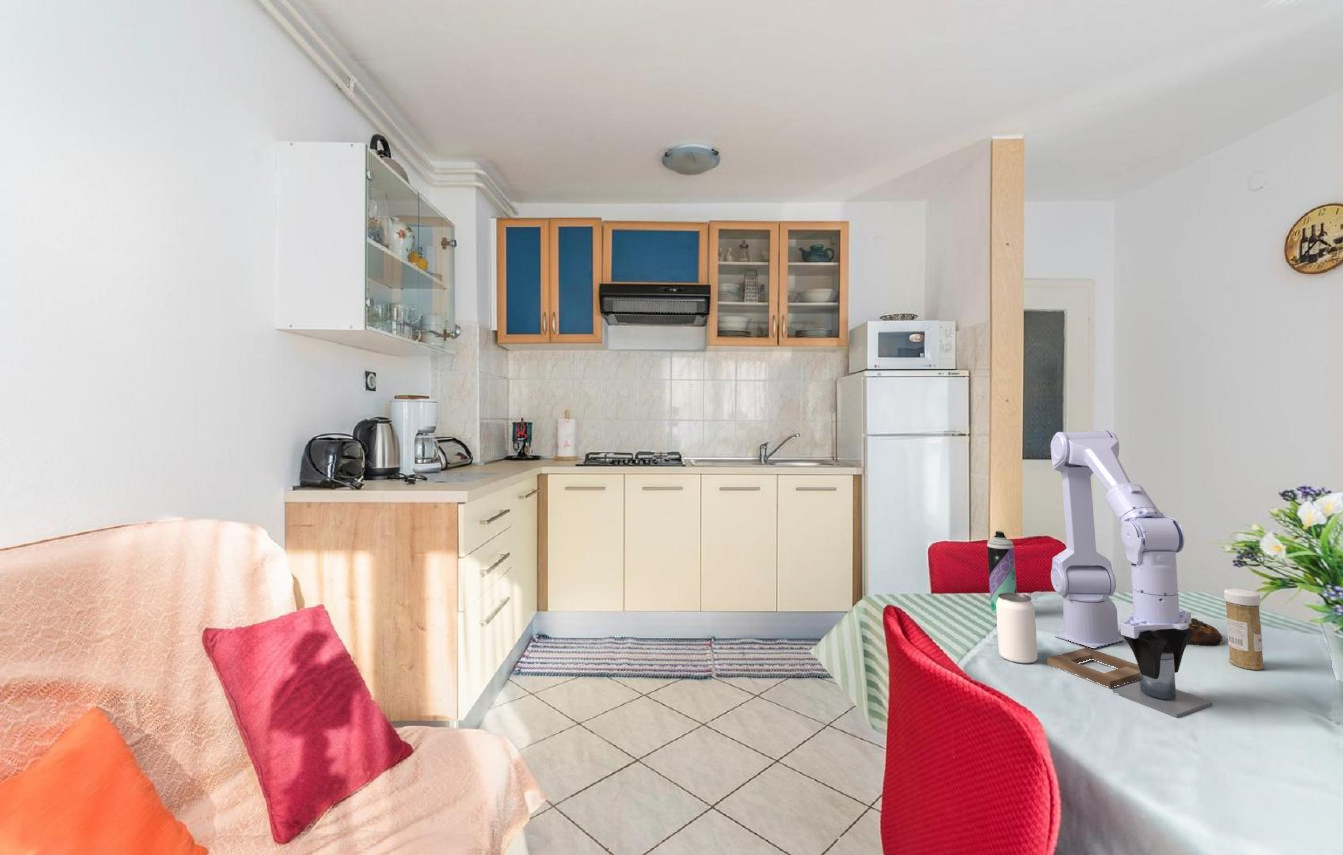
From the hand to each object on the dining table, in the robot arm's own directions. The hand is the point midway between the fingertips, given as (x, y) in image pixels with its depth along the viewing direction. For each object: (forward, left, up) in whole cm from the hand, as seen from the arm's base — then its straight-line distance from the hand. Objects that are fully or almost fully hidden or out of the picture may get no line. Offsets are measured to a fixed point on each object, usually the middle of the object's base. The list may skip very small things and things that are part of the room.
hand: (1159, 673), depth 90 cm
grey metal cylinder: (0, 0, -3) cm, 3 cm away
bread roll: (-33, -14, -5) cm, 36 cm away
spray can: (-13, -39, -4) cm, 41 cm away
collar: (-2, -11, -4) cm, 12 cm away
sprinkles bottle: (-26, -1, -4) cm, 26 cm away
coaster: (0, 0, -4) cm, 4 cm away
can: (+5, -21, -4) cm, 22 cm away
